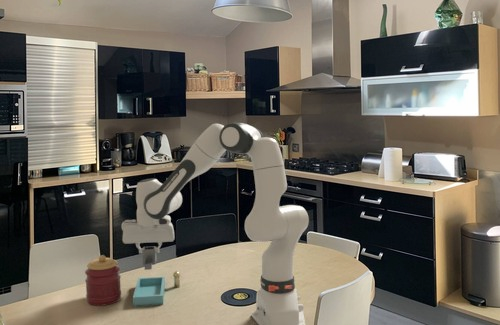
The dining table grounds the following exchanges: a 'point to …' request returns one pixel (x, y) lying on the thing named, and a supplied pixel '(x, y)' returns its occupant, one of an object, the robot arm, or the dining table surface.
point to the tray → (149, 291)
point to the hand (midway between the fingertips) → (149, 252)
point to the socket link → (149, 257)
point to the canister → (103, 281)
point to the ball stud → (176, 279)
